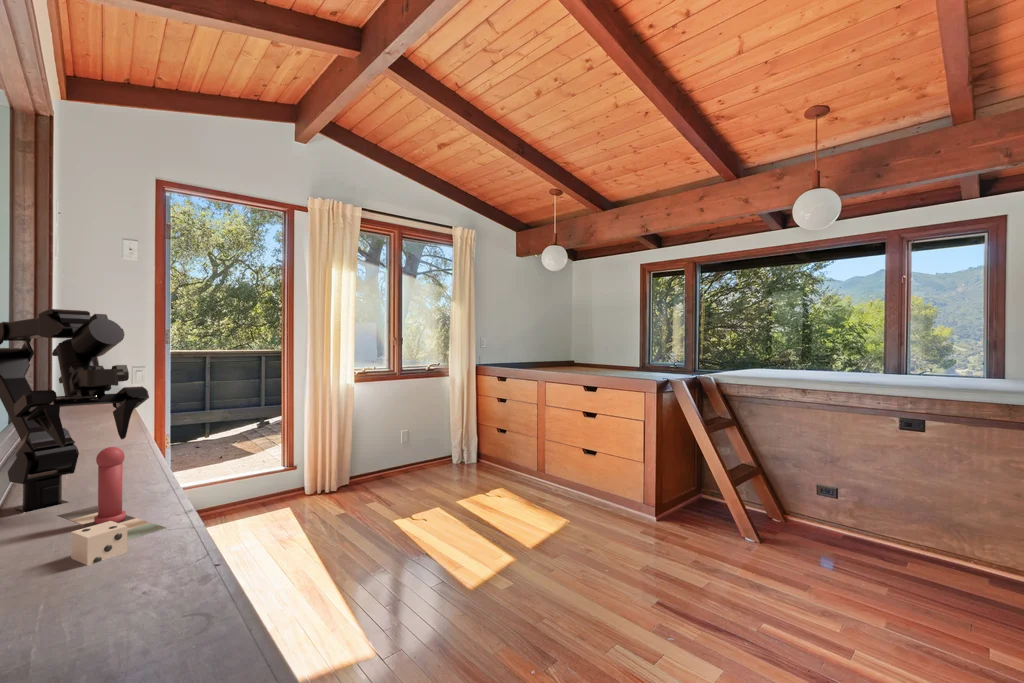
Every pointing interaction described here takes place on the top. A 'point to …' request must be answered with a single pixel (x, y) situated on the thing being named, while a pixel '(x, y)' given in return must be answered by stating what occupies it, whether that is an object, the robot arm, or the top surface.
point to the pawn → (110, 486)
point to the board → (133, 524)
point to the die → (98, 542)
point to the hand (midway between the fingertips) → (94, 442)
